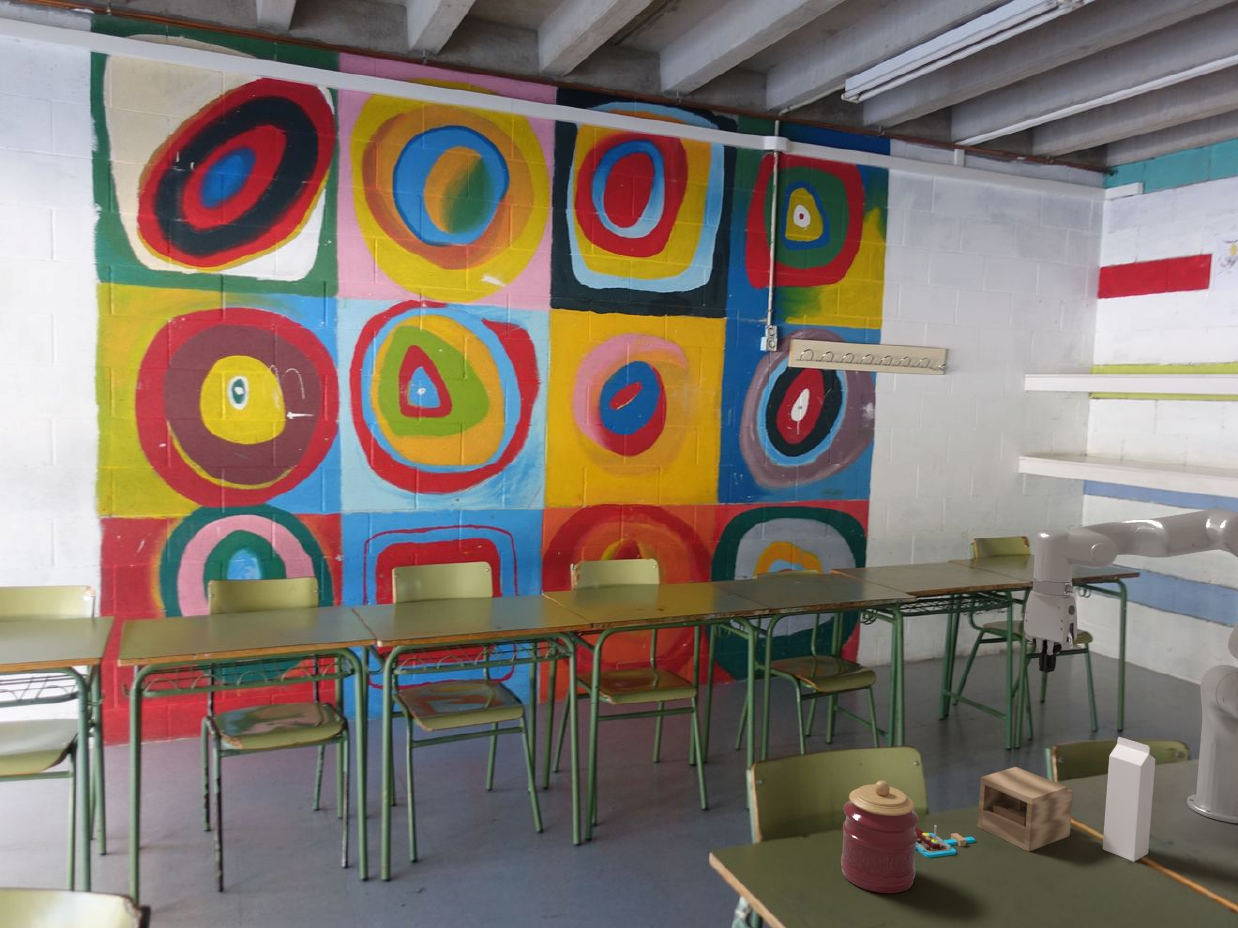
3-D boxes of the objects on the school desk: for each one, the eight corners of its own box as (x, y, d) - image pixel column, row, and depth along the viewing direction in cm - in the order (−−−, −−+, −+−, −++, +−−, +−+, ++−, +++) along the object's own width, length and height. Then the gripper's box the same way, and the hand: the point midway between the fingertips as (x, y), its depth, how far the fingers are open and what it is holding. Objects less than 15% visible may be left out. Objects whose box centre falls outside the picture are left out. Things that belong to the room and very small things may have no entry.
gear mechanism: (869, 841, 184) (896, 864, 175) (870, 815, 183) (898, 837, 174) (955, 830, 190) (986, 852, 181) (957, 805, 189) (988, 825, 180)
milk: (1133, 862, 178) (1142, 749, 176) (1101, 849, 183) (1110, 739, 181) (1148, 853, 181) (1157, 743, 180) (1116, 840, 186) (1124, 733, 184)
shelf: (1018, 813, 197) (1021, 764, 197) (1069, 835, 188) (1073, 784, 187) (977, 827, 190) (980, 776, 189) (1028, 851, 180) (1032, 798, 180)
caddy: (1033, 817, 196) (1036, 779, 196) (1064, 830, 190) (1067, 792, 190) (991, 831, 189) (994, 793, 188) (1022, 846, 183) (1025, 806, 182)
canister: (825, 865, 172) (830, 771, 171) (882, 853, 178) (887, 763, 176) (871, 900, 161) (876, 800, 159) (930, 887, 166) (936, 790, 164)
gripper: (1095, 592, 198) (1089, 677, 199) (1030, 580, 211) (1026, 660, 212) (1074, 596, 194) (1069, 682, 195) (1010, 583, 207) (1005, 664, 208)
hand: (1046, 670), depth 204 cm, fingers closed
